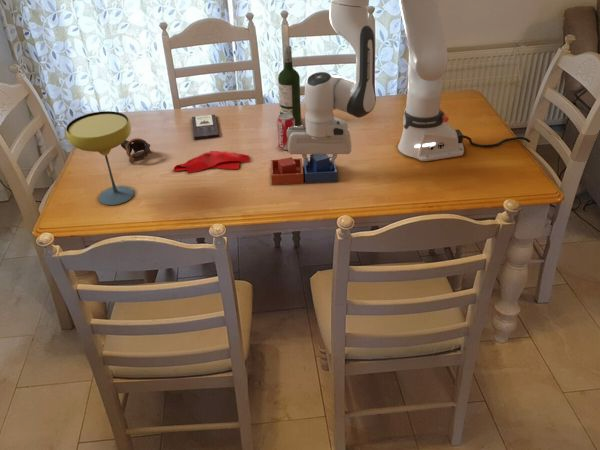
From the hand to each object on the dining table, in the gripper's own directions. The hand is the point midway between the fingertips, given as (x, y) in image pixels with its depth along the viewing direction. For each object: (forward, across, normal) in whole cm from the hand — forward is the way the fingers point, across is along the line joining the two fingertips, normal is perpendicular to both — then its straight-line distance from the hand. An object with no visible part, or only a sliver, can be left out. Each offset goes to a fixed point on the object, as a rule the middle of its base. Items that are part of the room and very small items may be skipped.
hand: (319, 164), depth 183 cm
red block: (+3, -11, -1) cm, 11 cm away
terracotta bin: (+4, -11, -1) cm, 11 cm away
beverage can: (+4, -12, +19) cm, 23 cm away
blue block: (+2, 0, 0) cm, 2 cm away
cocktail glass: (+4, -64, -14) cm, 66 cm away
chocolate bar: (+4, -45, +35) cm, 57 cm away
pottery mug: (+4, -65, +12) cm, 66 cm away
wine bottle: (+4, -12, +38) cm, 40 cm away
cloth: (+4, -37, +8) cm, 38 cm away
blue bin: (+4, 0, 0) cm, 4 cm away
